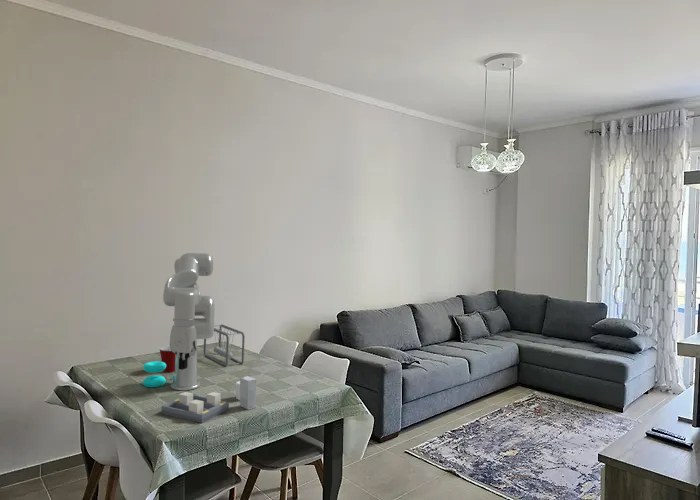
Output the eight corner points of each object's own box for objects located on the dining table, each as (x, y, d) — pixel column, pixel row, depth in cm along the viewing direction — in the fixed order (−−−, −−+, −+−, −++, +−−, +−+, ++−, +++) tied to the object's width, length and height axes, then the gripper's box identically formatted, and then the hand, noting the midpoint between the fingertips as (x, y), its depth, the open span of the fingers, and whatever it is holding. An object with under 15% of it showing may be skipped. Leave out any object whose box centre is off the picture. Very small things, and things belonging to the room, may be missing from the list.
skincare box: (256, 407, 196) (257, 378, 196) (247, 410, 193) (248, 380, 192) (247, 403, 200) (248, 375, 200) (238, 406, 197) (239, 377, 196)
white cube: (188, 413, 182) (189, 402, 182) (195, 410, 185) (195, 399, 185) (196, 415, 180) (197, 404, 180) (203, 412, 183) (203, 401, 183)
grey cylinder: (244, 394, 212) (244, 378, 211) (254, 398, 207) (254, 382, 207) (231, 398, 206) (232, 382, 206) (241, 402, 202) (241, 385, 202)
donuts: (138, 364, 216) (152, 359, 226) (137, 386, 216) (152, 380, 226) (156, 367, 214) (170, 361, 223) (156, 389, 214) (170, 382, 223)
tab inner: (206, 405, 191) (207, 394, 191) (212, 402, 195) (212, 391, 194) (214, 407, 190) (215, 396, 190) (220, 404, 193) (220, 393, 193)
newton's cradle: (203, 355, 275) (204, 325, 275) (220, 353, 282) (221, 323, 282) (226, 367, 253) (227, 334, 252) (243, 364, 259) (245, 332, 259)
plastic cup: (184, 368, 247) (185, 346, 247) (174, 374, 236) (175, 350, 236) (164, 367, 248) (165, 344, 248) (154, 373, 237) (154, 349, 237)
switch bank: (161, 413, 186) (161, 405, 186) (189, 401, 200) (190, 393, 200) (202, 423, 178) (202, 414, 178) (228, 409, 193) (228, 401, 193)
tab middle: (178, 405, 190) (179, 394, 190) (185, 402, 194) (185, 391, 193) (186, 407, 189) (187, 395, 189) (192, 404, 192) (193, 393, 192)
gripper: (162, 321, 184) (161, 367, 185) (192, 327, 178) (191, 374, 179) (176, 318, 191) (175, 363, 192) (206, 323, 185) (204, 369, 186)
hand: (183, 368), depth 186 cm, fingers closed
